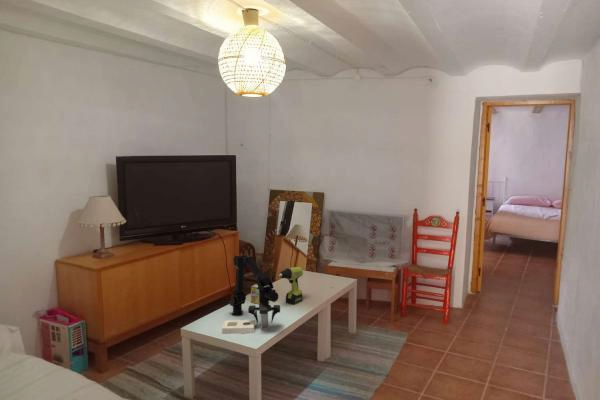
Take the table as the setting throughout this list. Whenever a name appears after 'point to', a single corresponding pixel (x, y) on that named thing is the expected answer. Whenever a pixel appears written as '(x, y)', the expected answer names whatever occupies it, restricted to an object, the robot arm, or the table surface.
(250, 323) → the socket plate
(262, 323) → the square peg
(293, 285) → the cordless drill
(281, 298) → the table surface
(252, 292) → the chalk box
